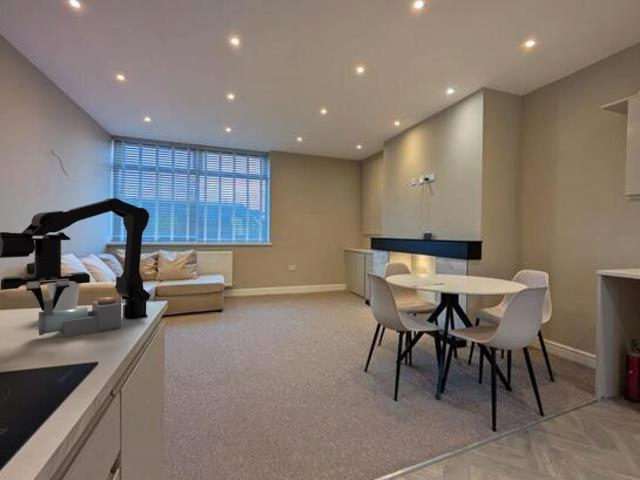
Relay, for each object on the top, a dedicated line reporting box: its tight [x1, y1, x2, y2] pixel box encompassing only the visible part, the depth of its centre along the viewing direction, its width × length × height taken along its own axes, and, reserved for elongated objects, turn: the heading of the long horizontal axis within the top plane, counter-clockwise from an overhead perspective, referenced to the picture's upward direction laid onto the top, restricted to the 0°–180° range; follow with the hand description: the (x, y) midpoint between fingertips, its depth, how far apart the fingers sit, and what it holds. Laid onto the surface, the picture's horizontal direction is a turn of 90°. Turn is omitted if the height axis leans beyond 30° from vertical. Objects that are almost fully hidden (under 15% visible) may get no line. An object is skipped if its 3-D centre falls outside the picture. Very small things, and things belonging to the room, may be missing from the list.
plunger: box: [97, 296, 116, 305], centre depth 97 cm, size 5×5×4 cm
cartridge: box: [37, 297, 89, 336], centre depth 89 cm, size 11×7×10 cm, turn 136°
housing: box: [59, 299, 122, 340], centre depth 94 cm, size 14×10×8 cm
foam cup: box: [46, 281, 82, 311], centre depth 110 cm, size 10×9×13 cm
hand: (48, 309), depth 87 cm, fingers closed on cartridge, 2 cm apart
